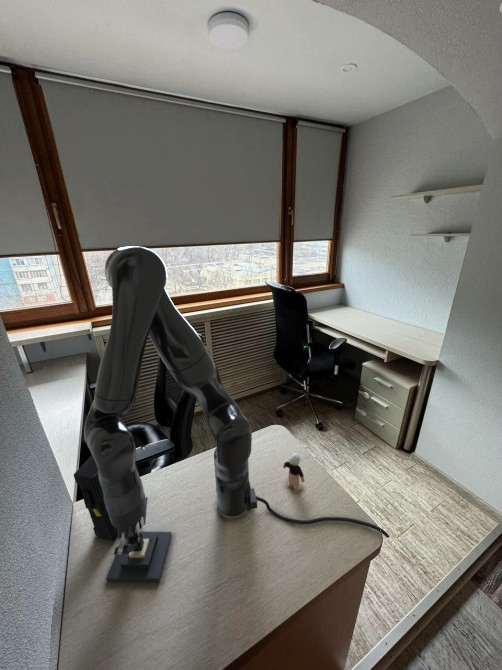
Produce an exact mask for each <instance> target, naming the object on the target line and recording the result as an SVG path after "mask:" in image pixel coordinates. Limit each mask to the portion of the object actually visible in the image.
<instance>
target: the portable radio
mask: <svg viewBox="0 0 502 670" xmlns="http://www.w3.org/2000/svg"><path fill="white" fill-rule="evenodd" d="M73 478H74V480H75V483H76V484H77V486H79V488H80V491H81V495H82V499H83V503H84V506H85V509H87V510H88V513H89V516H90V519H91V522H92V524H93V525H92V526H93V528H92V530H93V532H94V535H95V536H96V537H97V538H98V539H102V540H104V541H105V540H106V541H110V542H114V541H115V540H116V539H117V537H118V529H117V528H116V527H114V526H113V525H112V523H111V521H110V518H109V515H108V512H107V509H106V506H105V503H104V498H103V491H102V488H101V485H100V482H99V477H98V467H97V464H96V462H95V460H94V457H93V455H92V454H91V455H90V457H88V459H86V461H85V462H83V464H82V465H81V466H80V467H79V468H78V469H77V470H76V471H75V472H74V473H73Z"/></svg>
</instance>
